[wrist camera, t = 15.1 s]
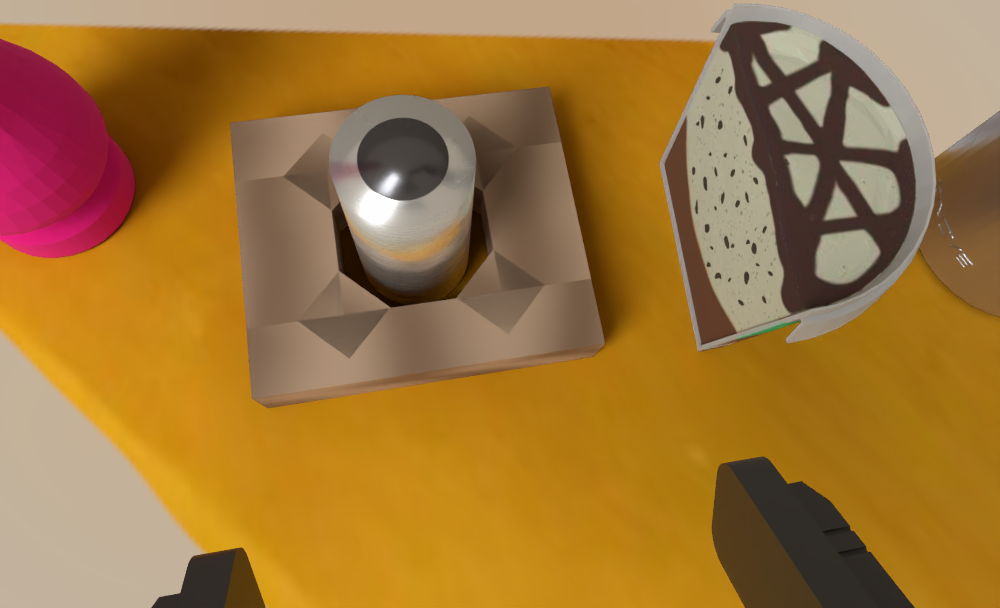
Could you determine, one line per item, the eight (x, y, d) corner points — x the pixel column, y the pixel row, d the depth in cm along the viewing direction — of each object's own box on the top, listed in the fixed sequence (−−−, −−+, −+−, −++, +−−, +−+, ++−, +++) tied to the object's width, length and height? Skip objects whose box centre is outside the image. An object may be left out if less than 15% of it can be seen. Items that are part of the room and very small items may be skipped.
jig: (542, 116, 35) (549, 86, 32) (593, 356, 31) (605, 343, 29) (246, 151, 33) (229, 122, 31) (267, 408, 30) (252, 398, 27)
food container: (836, 369, 32) (1002, 307, 22) (704, 384, 31) (817, 328, 22) (774, 125, 35) (894, -19, 26) (653, 135, 35) (731, -10, 25)
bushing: (460, 198, 33) (464, 86, 24) (476, 296, 32) (487, 215, 23) (355, 211, 32) (321, 102, 24) (368, 312, 31) (337, 235, 23)
